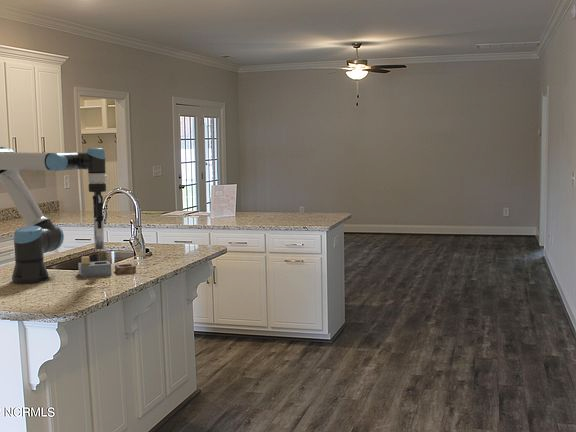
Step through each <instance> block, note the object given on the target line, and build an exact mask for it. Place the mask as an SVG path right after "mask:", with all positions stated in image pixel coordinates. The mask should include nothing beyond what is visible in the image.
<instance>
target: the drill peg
mask: <svg viewBox="0 0 576 432" xmlns="http://www.w3.org/2000/svg"><path fill="white" fill-rule="evenodd" d="M95 220H96V217H94V216H93V234H94V235H93V237H94V238H93V239H94V240H93V241H94V249H95V250H104V249H105V241H104V240H105V239H104V237H105V236H104V232H103V236H96V221H95ZM102 225H103V226H104V219H103V220H102Z"/></svg>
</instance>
